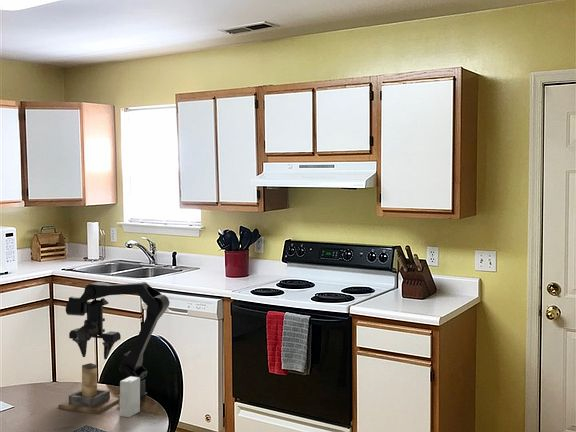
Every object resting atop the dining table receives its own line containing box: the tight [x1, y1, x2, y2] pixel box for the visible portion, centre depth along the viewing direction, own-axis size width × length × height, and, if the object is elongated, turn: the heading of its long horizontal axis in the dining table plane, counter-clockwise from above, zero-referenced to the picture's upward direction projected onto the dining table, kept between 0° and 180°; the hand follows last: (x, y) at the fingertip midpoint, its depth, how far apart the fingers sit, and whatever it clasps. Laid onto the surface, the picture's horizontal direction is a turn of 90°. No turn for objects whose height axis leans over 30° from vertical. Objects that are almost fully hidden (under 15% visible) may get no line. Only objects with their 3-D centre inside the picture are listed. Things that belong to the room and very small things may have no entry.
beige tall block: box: [81, 362, 98, 398], centre depth 229 cm, size 4×4×13 cm
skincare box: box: [119, 376, 141, 418], centre depth 221 cm, size 6×4×12 cm
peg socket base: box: [58, 388, 120, 415], centre depth 229 cm, size 16×13×4 cm
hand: (94, 358), depth 242 cm, fingers open, 9 cm apart
